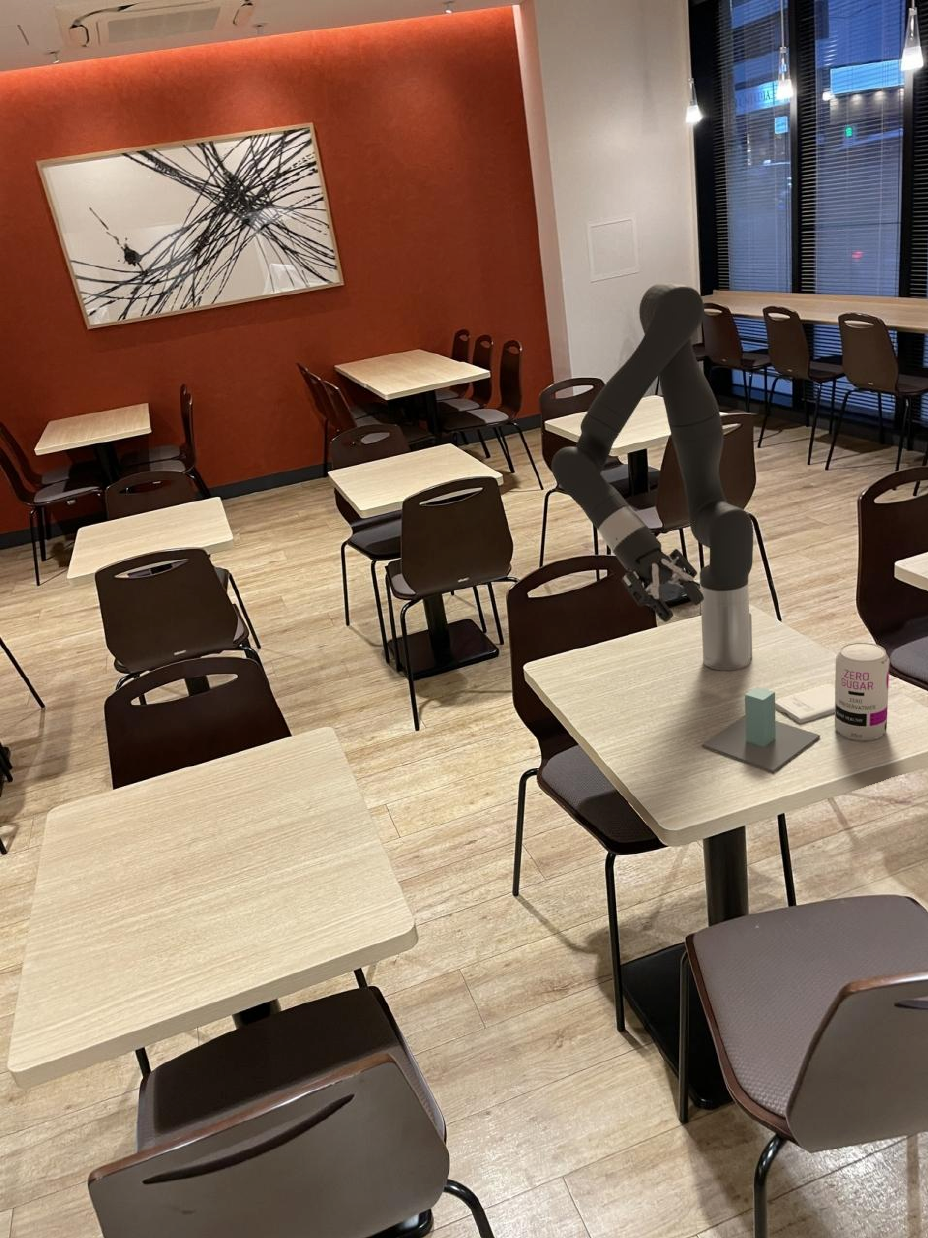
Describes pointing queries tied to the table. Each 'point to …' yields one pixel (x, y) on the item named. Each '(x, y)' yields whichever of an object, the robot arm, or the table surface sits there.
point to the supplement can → (861, 691)
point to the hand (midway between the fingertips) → (685, 610)
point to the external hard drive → (808, 703)
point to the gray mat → (767, 757)
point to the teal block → (760, 716)
